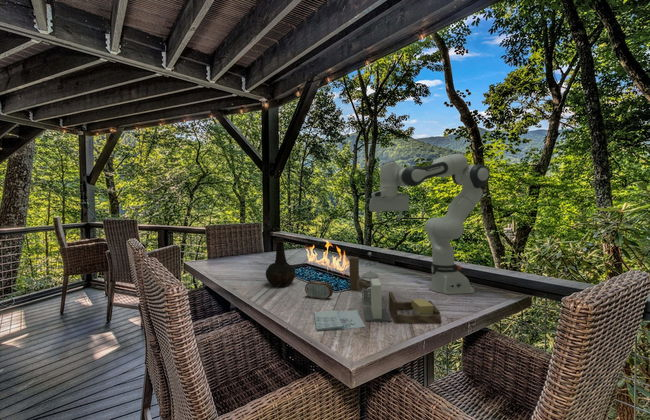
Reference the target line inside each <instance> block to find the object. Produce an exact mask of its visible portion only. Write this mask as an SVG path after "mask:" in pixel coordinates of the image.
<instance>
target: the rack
mask: <svg viewBox="0 0 650 420" xmlns="http://www.w3.org/2000/svg"><path fill="white" fill-rule="evenodd" d="M427 301H428V302H430V303H431V304H432V305H434V313H433V315H432V314H414V313H413V314H404V313H403V314H402V313H401V314H398V310H399V311H400V310H403V311H404V310H406V311H407V310H410V311H411V310H412V311H413V307H412V301H397V299H396V297H395V295H394V293H393V291H391V292H390V291H388V311H389V313H390V315H391V318H392V320H393V323H394V324H442V315H441V312H440V309H438V308H437V307H436V305H435V304H434V303H433V302H432V300H427Z"/></svg>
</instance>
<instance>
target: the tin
mask: <svg viewBox="0 0 650 420" xmlns="http://www.w3.org/2000/svg"><path fill="white" fill-rule="evenodd" d="M304 291H305V293H306V296H307V297H309V298H313V299H320V300H328V299H329V298H331V297H332V295H333V293H334V290H333V287H332V285H331V284H330V283H328V282H327V281H318V280H310V281H309V282H307V283H306V285H305V286H304Z"/></svg>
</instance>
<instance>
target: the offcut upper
mask: <svg viewBox="0 0 650 420" xmlns="http://www.w3.org/2000/svg"><path fill="white" fill-rule="evenodd" d="M428 301H429V300H427V299H425V298H418V299H417V298H414V299H411V302H412V307H413V308H414V309H415V310H416V311H418V312H419V313H420V314H421V313H434V306H435V304H434V305H432V304H431V303H430V302H428Z"/></svg>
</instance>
